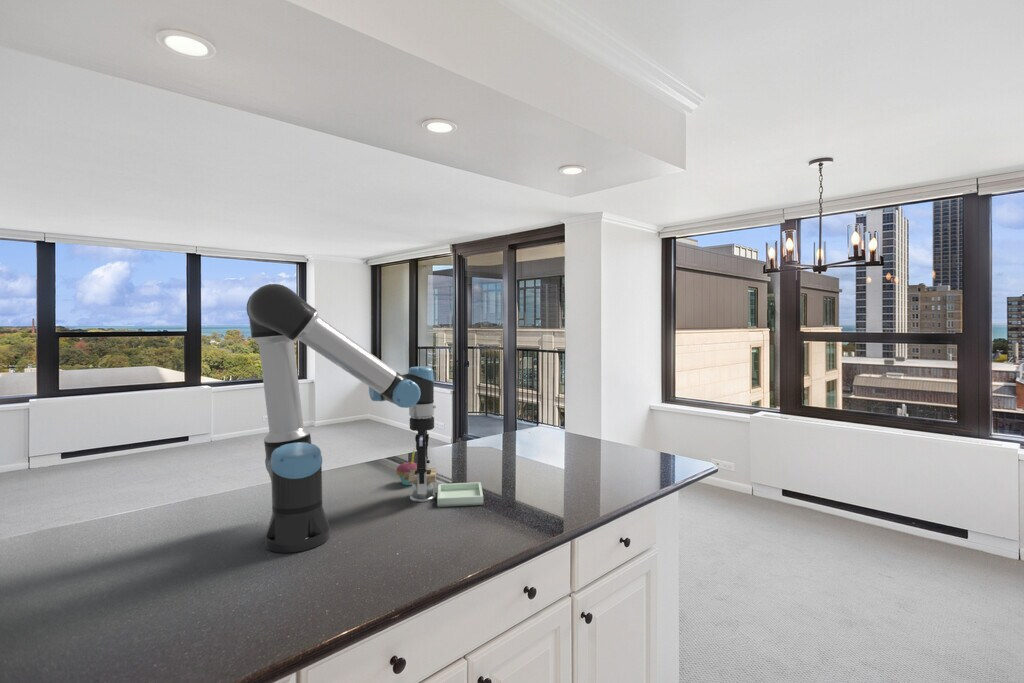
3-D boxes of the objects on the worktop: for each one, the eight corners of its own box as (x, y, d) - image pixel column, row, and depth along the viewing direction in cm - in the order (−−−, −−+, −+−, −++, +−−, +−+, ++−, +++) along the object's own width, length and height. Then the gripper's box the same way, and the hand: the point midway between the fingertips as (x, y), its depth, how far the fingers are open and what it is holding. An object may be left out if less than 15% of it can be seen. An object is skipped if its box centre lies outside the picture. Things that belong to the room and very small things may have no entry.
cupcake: (424, 479, 176) (424, 445, 175) (417, 487, 167) (417, 451, 167) (400, 479, 177) (400, 445, 176) (392, 487, 168) (392, 451, 168)
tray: (483, 504, 151) (483, 496, 151) (437, 506, 150) (437, 498, 149) (480, 489, 165) (480, 482, 165) (438, 491, 163) (438, 484, 163)
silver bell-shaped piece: (435, 501, 154) (435, 459, 154) (408, 502, 153) (408, 460, 153) (436, 492, 162) (435, 452, 162) (411, 493, 161) (410, 453, 161)
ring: (435, 481, 154) (435, 475, 154) (403, 483, 153) (403, 476, 153) (436, 474, 162) (436, 468, 162) (405, 475, 161) (405, 469, 161)
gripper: (432, 422, 147) (433, 499, 148) (435, 410, 168) (436, 478, 168) (406, 423, 146) (407, 501, 147) (412, 411, 167) (413, 479, 167)
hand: (422, 488), depth 158 cm, fingers closed on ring, 8 cm apart
